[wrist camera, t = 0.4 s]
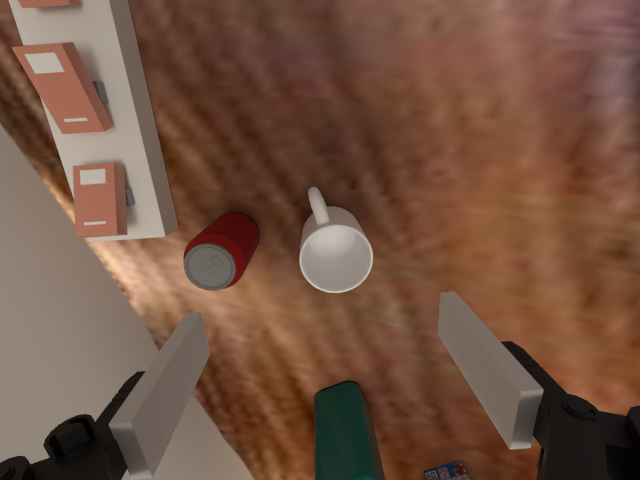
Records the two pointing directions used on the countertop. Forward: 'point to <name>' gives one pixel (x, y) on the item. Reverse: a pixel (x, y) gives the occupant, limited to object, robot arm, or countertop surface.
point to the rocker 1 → (47, 3)
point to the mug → (333, 248)
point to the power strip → (110, 107)
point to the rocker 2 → (64, 86)
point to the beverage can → (221, 252)
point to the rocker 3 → (99, 200)
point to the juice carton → (448, 472)
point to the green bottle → (345, 436)
